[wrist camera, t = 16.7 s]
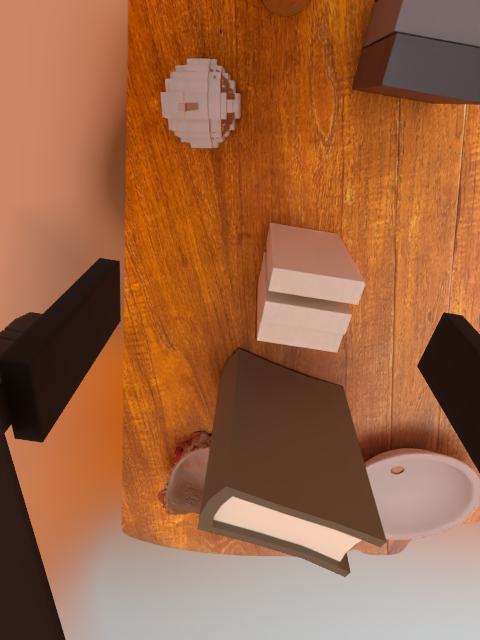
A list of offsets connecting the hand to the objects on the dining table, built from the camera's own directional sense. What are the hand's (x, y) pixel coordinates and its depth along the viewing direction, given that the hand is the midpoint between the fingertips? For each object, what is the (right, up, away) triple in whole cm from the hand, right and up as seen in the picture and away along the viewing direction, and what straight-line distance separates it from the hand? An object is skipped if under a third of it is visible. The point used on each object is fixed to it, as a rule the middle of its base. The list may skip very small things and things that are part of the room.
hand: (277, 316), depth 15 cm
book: (+5, -11, +47) cm, 48 cm away
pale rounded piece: (-5, +24, +27) cm, 36 cm away
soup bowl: (+28, -28, +56) cm, 68 cm away
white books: (+6, +6, +37) cm, 37 cm away
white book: (+7, +11, +34) cm, 36 cm away
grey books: (+16, +29, +22) cm, 40 cm away
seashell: (-7, -27, +57) cm, 63 cm away
